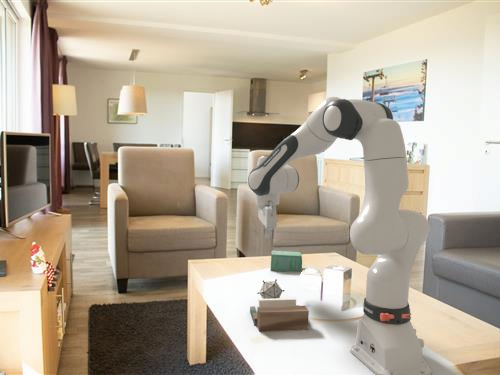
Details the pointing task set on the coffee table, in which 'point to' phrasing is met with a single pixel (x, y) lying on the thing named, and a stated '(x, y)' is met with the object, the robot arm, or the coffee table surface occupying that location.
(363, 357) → the robot arm
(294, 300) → the pad
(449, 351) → the coffee table surface
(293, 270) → the box
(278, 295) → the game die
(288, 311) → the brown piece
